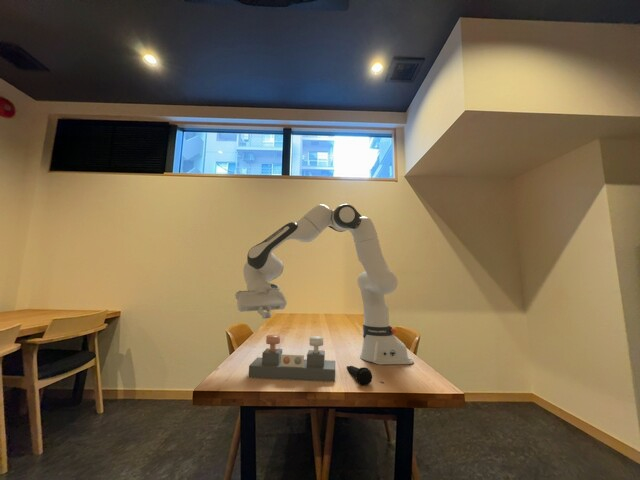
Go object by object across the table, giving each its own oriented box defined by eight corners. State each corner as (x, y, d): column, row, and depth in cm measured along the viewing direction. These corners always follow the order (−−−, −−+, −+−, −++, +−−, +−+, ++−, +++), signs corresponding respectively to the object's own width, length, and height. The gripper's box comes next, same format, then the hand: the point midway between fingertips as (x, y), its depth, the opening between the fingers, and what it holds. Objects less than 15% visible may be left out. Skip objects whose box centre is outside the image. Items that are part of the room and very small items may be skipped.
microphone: (343, 377, 107) (362, 390, 88) (338, 362, 108) (357, 372, 89) (355, 371, 109) (377, 384, 90) (351, 356, 110) (371, 366, 91)
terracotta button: (280, 351, 103) (281, 334, 104) (277, 355, 98) (278, 337, 99) (267, 351, 104) (268, 334, 104) (264, 354, 99) (264, 337, 99)
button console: (335, 371, 103) (335, 349, 104) (334, 381, 94) (335, 357, 95) (256, 368, 105) (257, 346, 106) (248, 377, 96) (249, 353, 97)
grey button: (323, 353, 102) (323, 336, 103) (322, 357, 97) (322, 339, 98) (309, 352, 103) (310, 335, 103) (308, 356, 98) (308, 338, 98)
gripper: (236, 285, 110) (243, 313, 101) (282, 285, 122) (292, 310, 112) (232, 296, 113) (238, 324, 104) (277, 295, 125) (287, 320, 115)
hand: (266, 317), depth 108 cm, fingers closed
